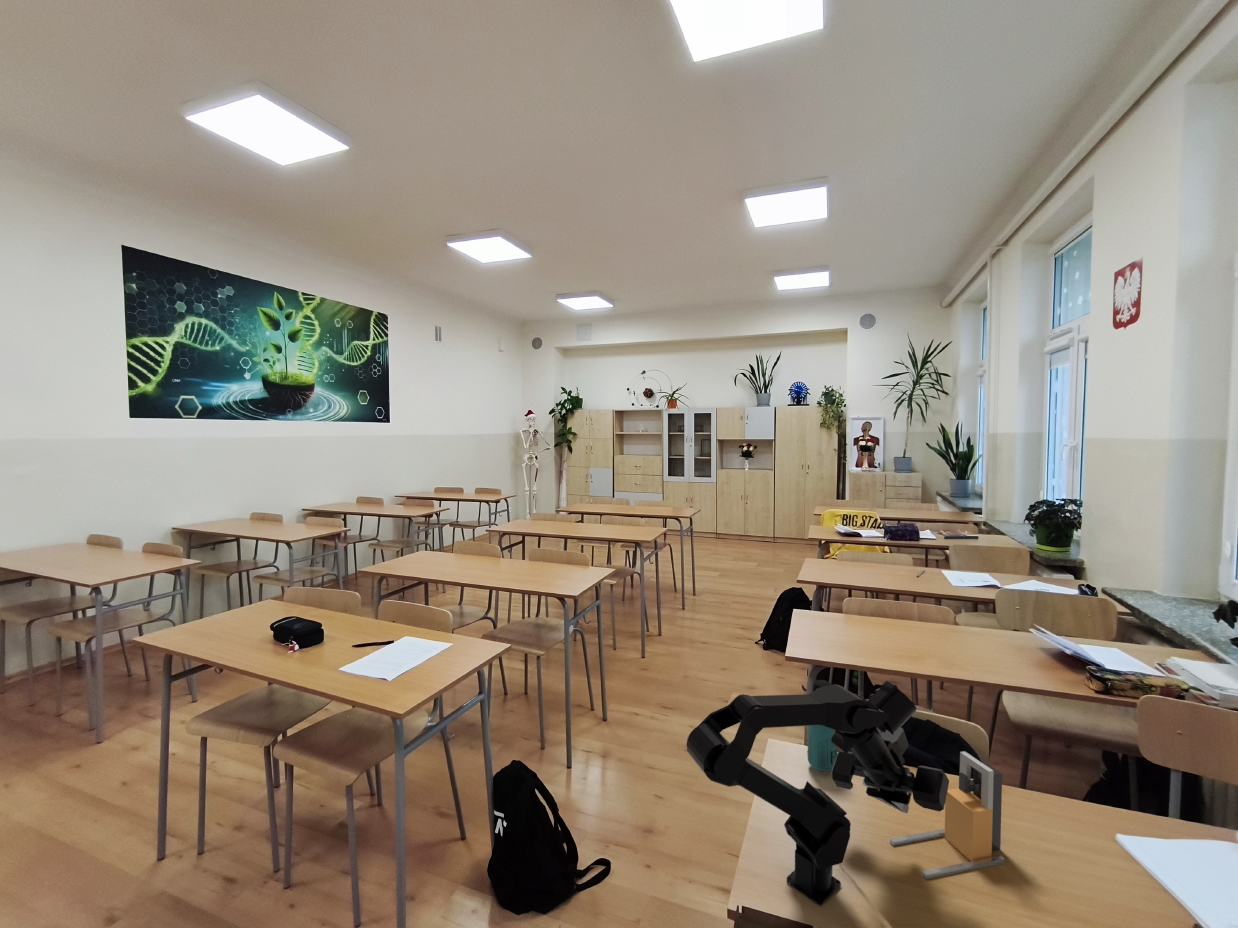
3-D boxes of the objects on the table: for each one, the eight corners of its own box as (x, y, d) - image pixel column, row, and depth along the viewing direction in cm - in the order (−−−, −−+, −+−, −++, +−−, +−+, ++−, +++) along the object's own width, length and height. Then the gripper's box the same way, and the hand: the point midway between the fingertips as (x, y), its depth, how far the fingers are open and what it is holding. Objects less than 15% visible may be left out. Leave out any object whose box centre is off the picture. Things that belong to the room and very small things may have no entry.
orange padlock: (972, 862, 94) (974, 773, 93) (944, 837, 100) (946, 754, 99) (991, 858, 95) (993, 770, 94) (962, 834, 101) (964, 751, 100)
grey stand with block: (928, 889, 90) (930, 801, 89) (886, 845, 100) (888, 765, 99) (1018, 870, 94) (1020, 785, 93) (969, 829, 103) (971, 752, 103)
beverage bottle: (833, 782, 118) (833, 692, 117) (802, 771, 122) (803, 683, 121) (841, 767, 123) (842, 681, 122) (811, 757, 127) (812, 673, 126)
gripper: (936, 717, 92) (971, 781, 95) (833, 704, 106) (867, 760, 109) (922, 776, 85) (960, 843, 88) (814, 754, 99) (851, 812, 102)
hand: (906, 810), depth 97 cm, fingers closed
